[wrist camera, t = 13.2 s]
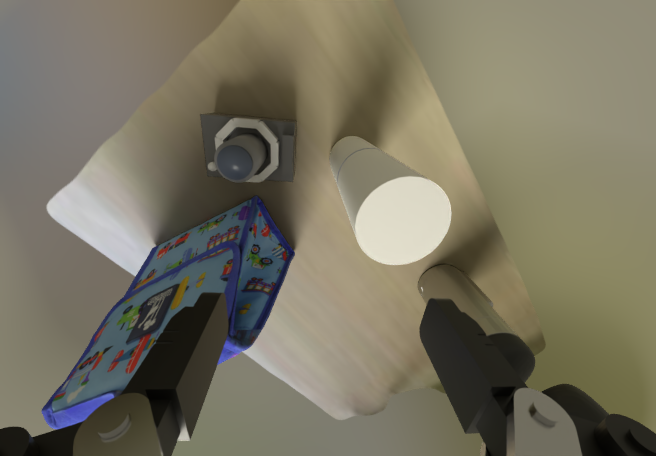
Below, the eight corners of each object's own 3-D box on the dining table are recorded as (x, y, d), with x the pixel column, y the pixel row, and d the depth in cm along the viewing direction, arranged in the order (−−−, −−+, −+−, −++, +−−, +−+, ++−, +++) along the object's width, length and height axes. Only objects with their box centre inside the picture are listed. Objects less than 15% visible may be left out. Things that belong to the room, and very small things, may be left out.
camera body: (296, 120, 38) (294, 123, 32) (294, 173, 41) (292, 184, 35) (213, 113, 37) (195, 114, 31) (218, 168, 40) (203, 179, 34)
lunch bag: (257, 192, 42) (177, 328, 16) (296, 253, 48) (282, 426, 22) (152, 244, 45) (-56, 431, 19) (201, 296, 51) (90, 494, 25)
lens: (266, 133, 34) (254, 142, 26) (268, 167, 36) (257, 184, 28) (232, 131, 33) (209, 139, 26) (235, 166, 35) (215, 183, 28)
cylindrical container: (352, 125, 39) (413, 153, 16) (381, 158, 41) (469, 222, 19) (320, 159, 41) (334, 226, 18) (350, 189, 43) (395, 280, 21)
